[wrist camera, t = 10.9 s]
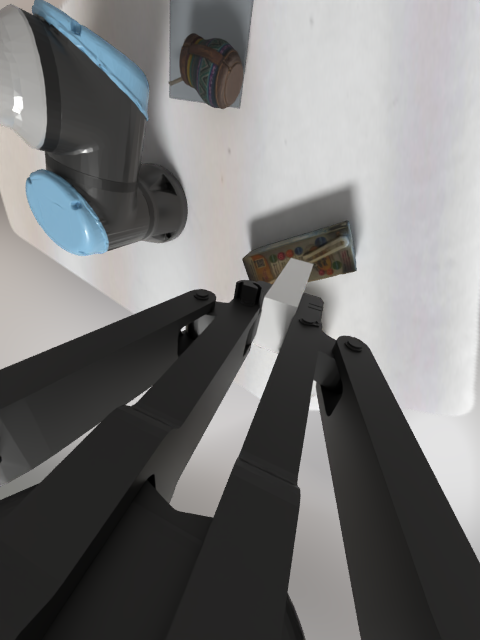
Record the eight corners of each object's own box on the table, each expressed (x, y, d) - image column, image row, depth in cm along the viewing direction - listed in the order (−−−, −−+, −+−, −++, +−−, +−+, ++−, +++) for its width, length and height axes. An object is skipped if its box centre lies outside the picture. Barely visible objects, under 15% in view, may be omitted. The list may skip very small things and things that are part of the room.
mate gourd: (244, 32, 31) (181, -3, 32) (213, 92, 32) (154, 57, 33) (252, 80, 38) (200, 50, 39) (226, 128, 39) (177, 98, 40)
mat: (171, 98, 43) (169, 97, 42) (172, -113, 31) (170, -116, 31) (239, 108, 40) (238, 107, 39) (268, -119, 29) (267, -123, 28)
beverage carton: (357, 263, 45) (358, 274, 39) (261, 285, 54) (251, 297, 48) (349, 218, 42) (349, 224, 36) (249, 250, 51) (238, 258, 45)
